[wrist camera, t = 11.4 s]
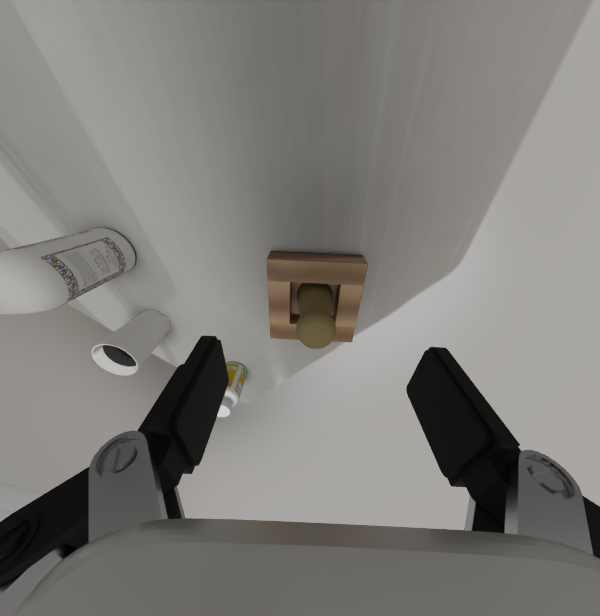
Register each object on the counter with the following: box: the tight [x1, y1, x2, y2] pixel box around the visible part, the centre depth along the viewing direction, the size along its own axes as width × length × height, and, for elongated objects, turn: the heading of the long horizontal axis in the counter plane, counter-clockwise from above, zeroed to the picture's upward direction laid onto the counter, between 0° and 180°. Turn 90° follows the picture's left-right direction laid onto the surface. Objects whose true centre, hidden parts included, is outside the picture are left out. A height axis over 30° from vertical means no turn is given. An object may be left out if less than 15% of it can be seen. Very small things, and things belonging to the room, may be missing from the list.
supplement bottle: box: [217, 362, 247, 417], centre depth 43 cm, size 5×5×10 cm
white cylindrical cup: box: [91, 310, 170, 375], centre depth 37 cm, size 7×7×10 cm
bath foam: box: [0, 228, 135, 314], centre depth 25 cm, size 7×7×20 cm
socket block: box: [267, 251, 368, 342], centre depth 35 cm, size 14×14×4 cm
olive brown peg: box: [296, 283, 336, 348], centre depth 31 cm, size 6×6×11 cm
